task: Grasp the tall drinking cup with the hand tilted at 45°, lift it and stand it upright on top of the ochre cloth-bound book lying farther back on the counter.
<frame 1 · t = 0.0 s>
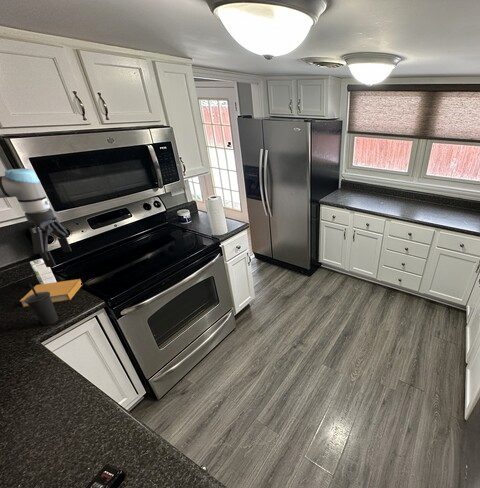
hand: (60, 258, 111), 29 cm above the worktop, tool pointing down, fingers open, 13 cm apart
book: (54, 295, 134), on the worktop
drinking cup: (51, 321, 117), on the worktop
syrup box: (49, 285, 141), on the worktop
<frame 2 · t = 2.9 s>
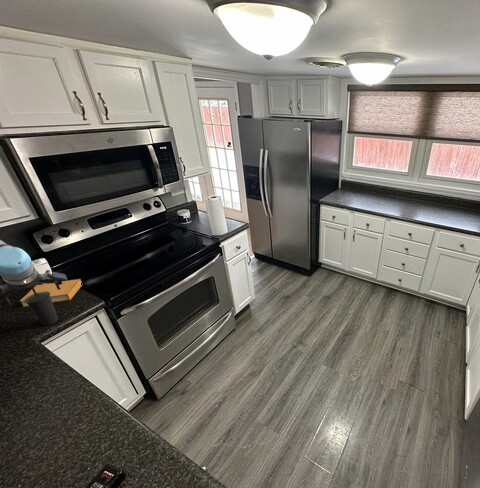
hand: (34, 294, 103), 20 cm above the worktop, tool tilted 45°, fingers open, 13 cm apart
nothing on the worktop moved.
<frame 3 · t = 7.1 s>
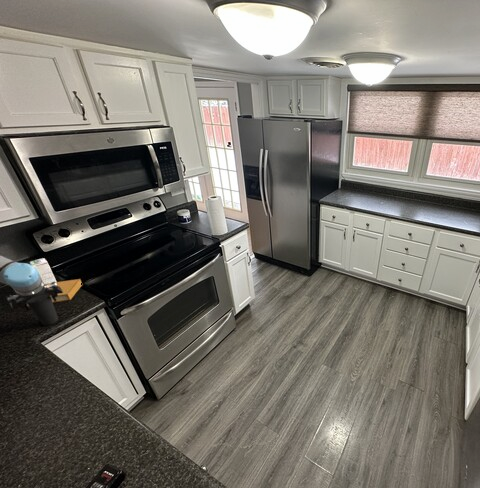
hand: (41, 302, 115), 9 cm above the worktop, tool tilted 45°, fingers closed on drinking cup, 8 cm apart
drinking cup: (51, 321, 117), on the worktop, touching gripper
everything else where it was.
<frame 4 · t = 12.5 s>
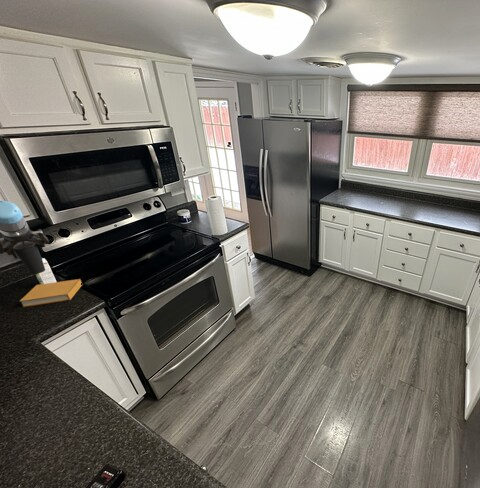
hand: (28, 252, 119), 27 cm above the worktop, tool tilted 45°, fingers closed on drinking cup, 8 cm apart
drinking cup: (38, 271, 120), point 18 cm above the worktop, touching gripper
everything else where it was.
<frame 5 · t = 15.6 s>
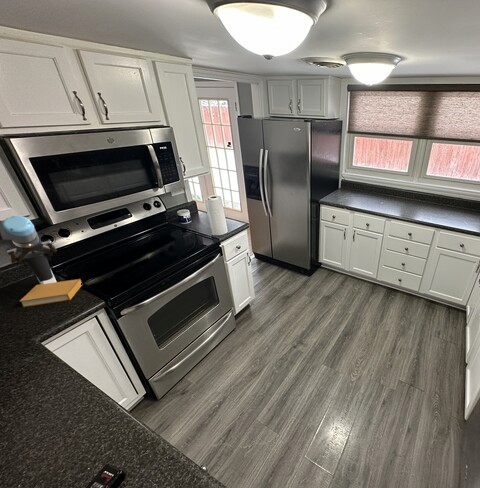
hand: (37, 261, 127), 19 cm above the worktop, tool tilted 45°, fingers closed on drinking cup, 8 cm apart
drinking cup: (46, 278, 129), point 10 cm above the worktop, touching gripper
everything else where it was.
when the fingers open (12 cm above the worktop, at t = 17.8 s): drinking cup stays where it is, resting on book.
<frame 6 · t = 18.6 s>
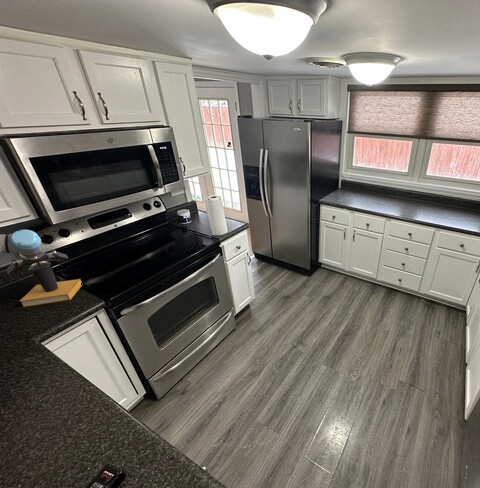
hand: (42, 270, 129), 14 cm above the worktop, tool tilted 45°, fingers open, 13 cm apart
drinking cup: (52, 289, 132), point 3 cm above the worktop, touching book
everything else where it was.
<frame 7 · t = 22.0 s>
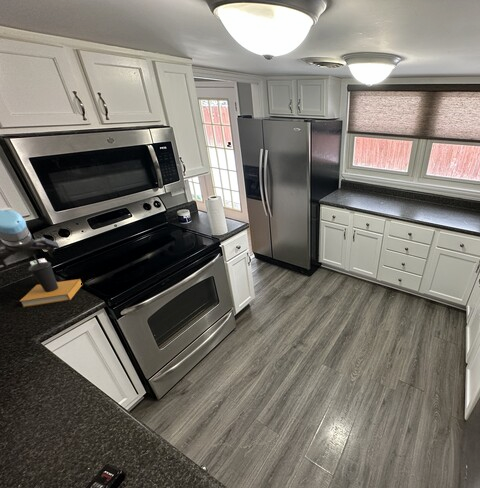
hand: (29, 260, 114), 26 cm above the worktop, tool tilted 45°, fingers open, 13 cm apart
nothing on the worktop moved.
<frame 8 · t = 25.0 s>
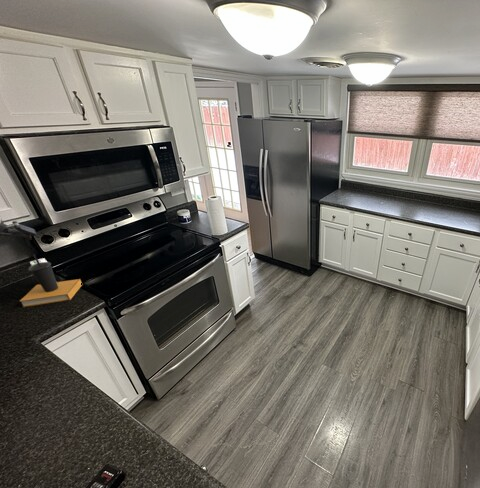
hand: (3, 248, 103), 36 cm above the worktop, tool tilted 45°, fingers open, 13 cm apart
nothing on the worktop moved.
at the end: drinking cup inside the target area on the book (0.1 cm from its centre), point 3.4 cm above the book's base; drinking cup tilted 0°; the gripper is holding nothing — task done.
